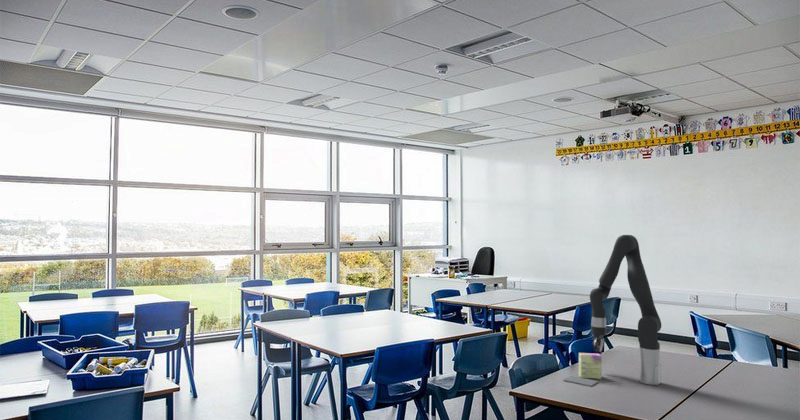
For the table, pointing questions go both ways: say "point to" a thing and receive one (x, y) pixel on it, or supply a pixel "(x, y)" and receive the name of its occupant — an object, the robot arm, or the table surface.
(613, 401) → the table surface
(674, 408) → the table surface
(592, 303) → the robot arm
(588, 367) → the box
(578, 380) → the mat
